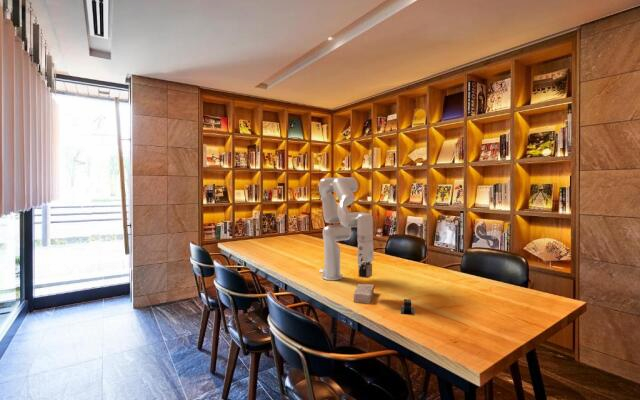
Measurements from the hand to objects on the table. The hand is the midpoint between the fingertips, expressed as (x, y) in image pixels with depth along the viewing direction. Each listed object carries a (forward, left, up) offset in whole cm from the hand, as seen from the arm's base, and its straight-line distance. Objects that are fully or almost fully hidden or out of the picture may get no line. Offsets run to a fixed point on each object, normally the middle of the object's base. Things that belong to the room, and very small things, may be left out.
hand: (365, 274), depth 162 cm
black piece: (+23, -6, -12) cm, 27 cm away
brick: (-1, 0, -12) cm, 12 cm away
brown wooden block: (0, 0, -1) cm, 1 cm away
